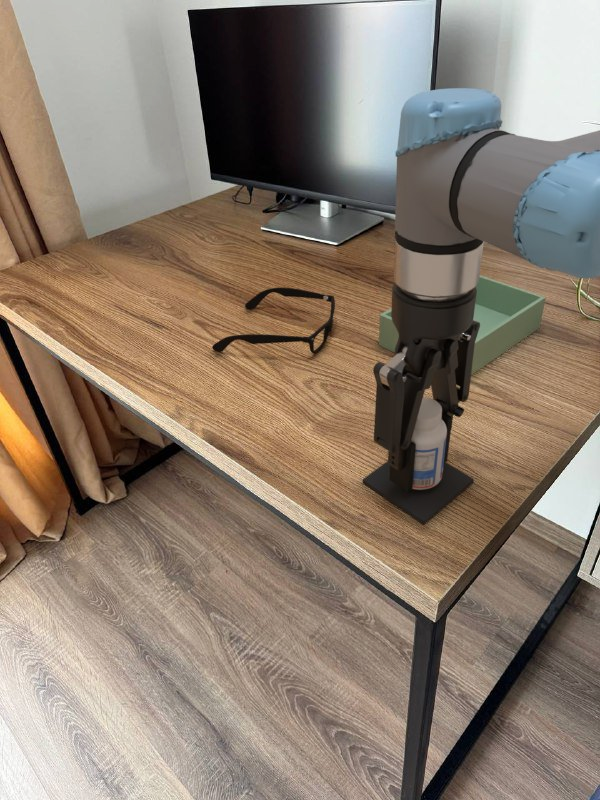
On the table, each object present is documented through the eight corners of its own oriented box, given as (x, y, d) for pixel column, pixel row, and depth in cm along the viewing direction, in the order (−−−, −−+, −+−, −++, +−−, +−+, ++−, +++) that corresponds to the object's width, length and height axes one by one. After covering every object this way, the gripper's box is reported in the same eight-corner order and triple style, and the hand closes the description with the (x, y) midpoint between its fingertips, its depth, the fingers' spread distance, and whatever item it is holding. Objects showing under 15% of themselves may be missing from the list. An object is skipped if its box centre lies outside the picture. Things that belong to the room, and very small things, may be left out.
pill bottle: (413, 452, 70) (418, 386, 64) (451, 473, 67) (460, 405, 61) (384, 475, 67) (386, 408, 61) (422, 499, 64) (429, 430, 58)
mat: (473, 482, 67) (474, 479, 67) (423, 525, 63) (424, 521, 62) (412, 446, 73) (412, 442, 73) (362, 483, 68) (362, 479, 68)
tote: (539, 328, 94) (546, 296, 90) (459, 383, 83) (463, 350, 80) (460, 298, 103) (463, 269, 100) (378, 345, 92) (379, 314, 89)
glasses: (316, 371, 89) (317, 343, 86) (209, 354, 93) (206, 326, 90) (342, 318, 101) (343, 292, 98) (247, 305, 106) (245, 280, 103)
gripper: (461, 242, 60) (442, 419, 74) (331, 306, 50) (337, 495, 64) (528, 262, 55) (494, 447, 69) (398, 336, 46) (389, 533, 60)
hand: (418, 469), depth 67 cm, fingers closed on pill bottle, 5 cm apart
